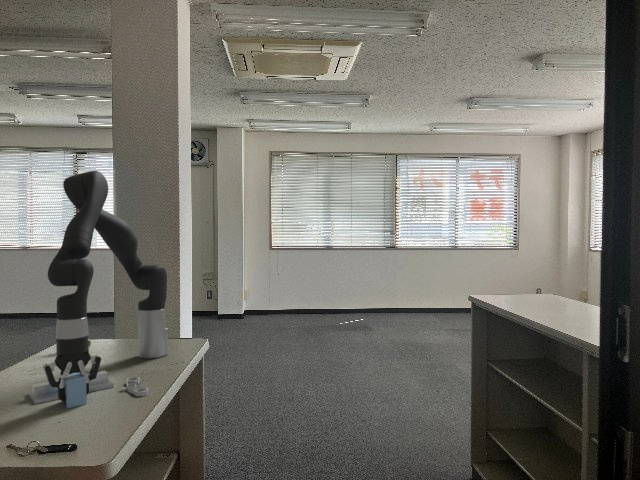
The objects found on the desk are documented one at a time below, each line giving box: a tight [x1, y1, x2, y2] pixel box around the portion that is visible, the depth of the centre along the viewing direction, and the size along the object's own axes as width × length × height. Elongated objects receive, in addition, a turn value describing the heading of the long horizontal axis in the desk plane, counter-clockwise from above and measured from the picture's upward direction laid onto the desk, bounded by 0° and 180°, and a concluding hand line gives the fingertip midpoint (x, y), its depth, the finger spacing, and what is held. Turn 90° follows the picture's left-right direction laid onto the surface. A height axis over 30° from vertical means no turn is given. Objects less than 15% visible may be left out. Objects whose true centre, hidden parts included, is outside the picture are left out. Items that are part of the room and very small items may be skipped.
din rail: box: [27, 370, 115, 405], centre depth 133 cm, size 20×10×4 cm, turn 131°
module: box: [60, 373, 87, 409], centre depth 123 cm, size 4×7×7 cm
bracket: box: [121, 376, 149, 398], centre depth 134 cm, size 8×2×15 cm
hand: (73, 398), depth 123 cm, fingers closed on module, 4 cm apart
